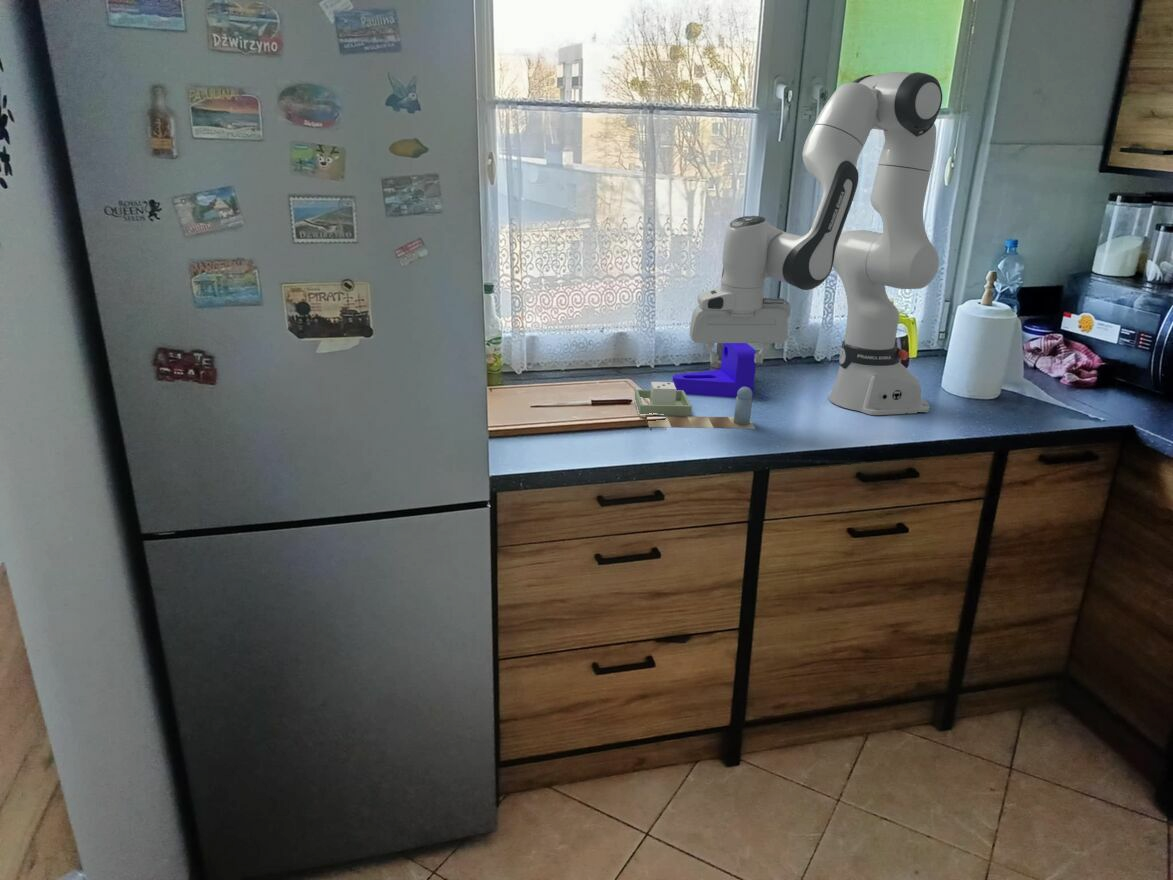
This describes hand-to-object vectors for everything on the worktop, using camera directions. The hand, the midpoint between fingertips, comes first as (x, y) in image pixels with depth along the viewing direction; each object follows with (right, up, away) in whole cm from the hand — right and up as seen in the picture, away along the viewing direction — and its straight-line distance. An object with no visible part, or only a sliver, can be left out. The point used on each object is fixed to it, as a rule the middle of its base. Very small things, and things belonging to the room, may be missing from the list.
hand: (736, 362), depth 185 cm
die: (-15, -9, +11) cm, 20 cm away
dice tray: (-15, -10, +11) cm, 21 cm away
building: (+4, -2, +34) cm, 34 cm away
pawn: (+2, -13, +3) cm, 13 cm away
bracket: (-3, -5, +24) cm, 24 cm away
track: (-7, -13, +3) cm, 15 cm away
